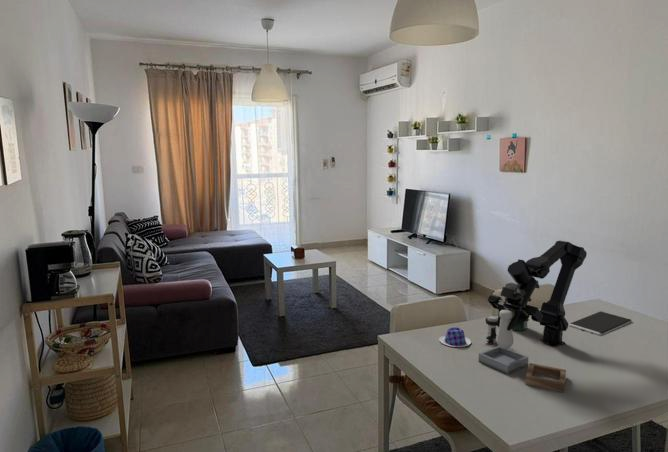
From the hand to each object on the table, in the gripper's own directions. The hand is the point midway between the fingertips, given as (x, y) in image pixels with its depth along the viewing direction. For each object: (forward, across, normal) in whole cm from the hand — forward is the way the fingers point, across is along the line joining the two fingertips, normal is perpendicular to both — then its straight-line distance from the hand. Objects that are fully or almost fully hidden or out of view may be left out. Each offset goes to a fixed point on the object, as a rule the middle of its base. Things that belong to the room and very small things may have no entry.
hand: (502, 328), depth 157 cm
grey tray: (+8, 0, +10) cm, 13 cm away
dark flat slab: (-37, +1, +58) cm, 68 cm away
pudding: (+8, -22, +11) cm, 26 cm away
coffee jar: (-14, -18, +34) cm, 41 cm away
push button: (+1, -14, +18) cm, 23 cm away
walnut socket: (+8, +15, +10) cm, 20 cm away
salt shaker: (+4, 0, +6) cm, 7 cm away
